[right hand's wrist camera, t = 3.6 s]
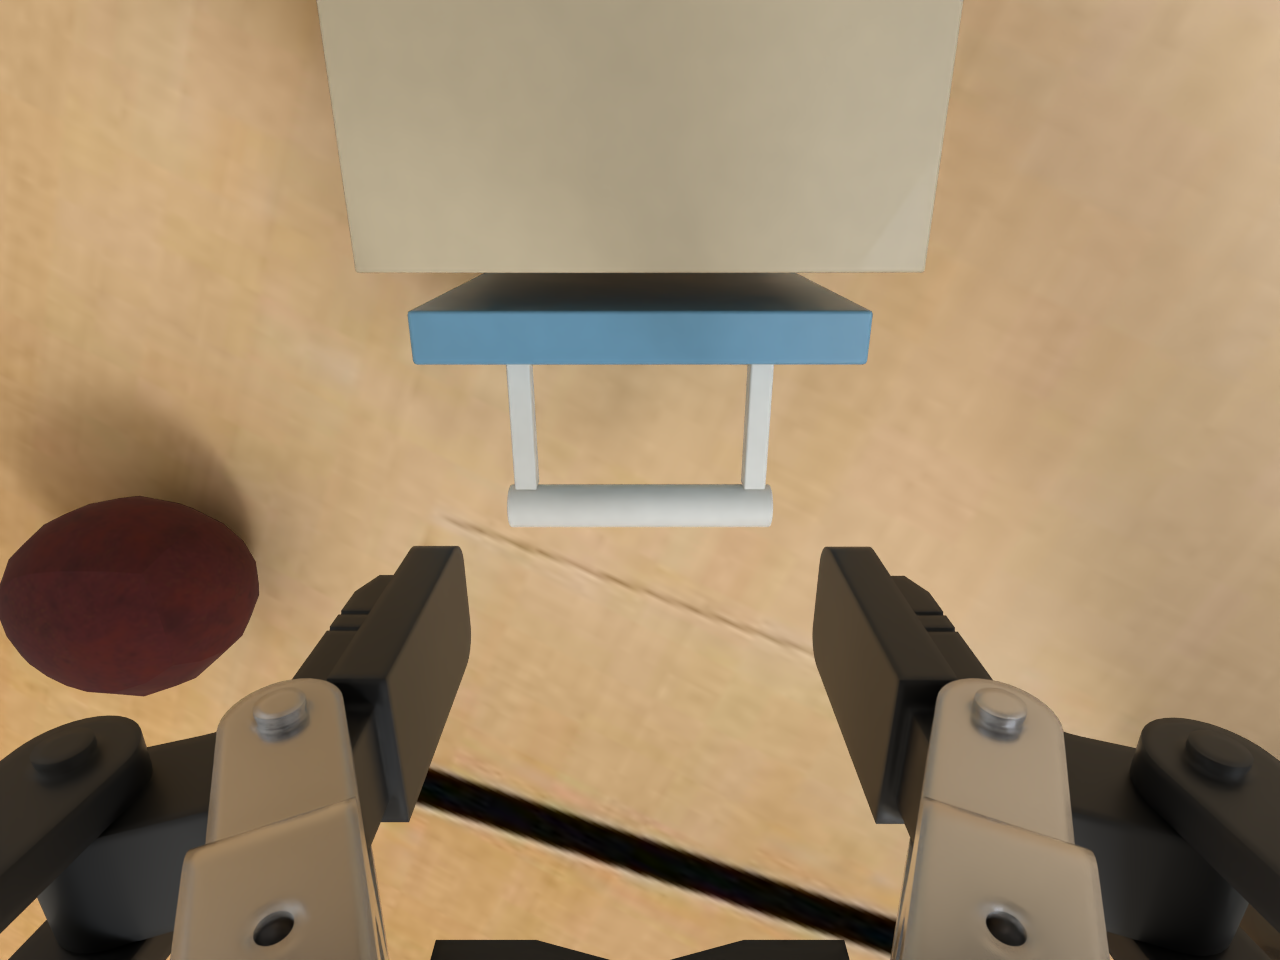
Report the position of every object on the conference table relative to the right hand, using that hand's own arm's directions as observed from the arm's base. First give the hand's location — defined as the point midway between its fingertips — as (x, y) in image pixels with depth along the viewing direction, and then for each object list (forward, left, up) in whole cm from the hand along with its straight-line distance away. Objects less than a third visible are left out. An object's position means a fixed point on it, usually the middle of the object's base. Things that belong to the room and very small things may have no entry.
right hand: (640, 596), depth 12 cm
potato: (-8, +18, -16) cm, 25 cm away
